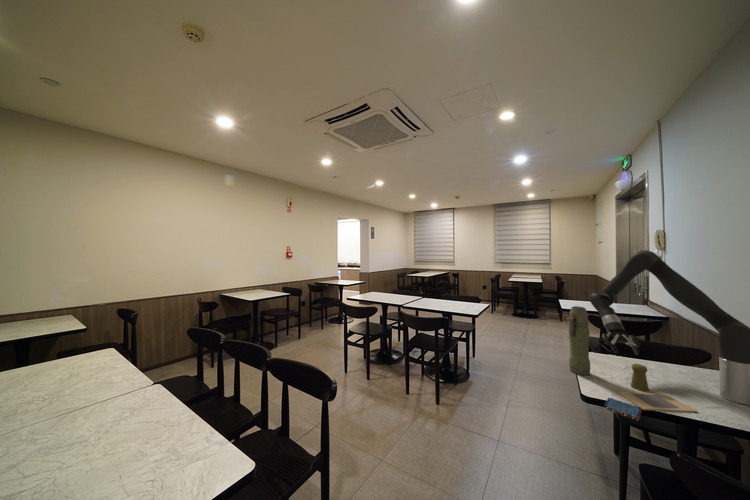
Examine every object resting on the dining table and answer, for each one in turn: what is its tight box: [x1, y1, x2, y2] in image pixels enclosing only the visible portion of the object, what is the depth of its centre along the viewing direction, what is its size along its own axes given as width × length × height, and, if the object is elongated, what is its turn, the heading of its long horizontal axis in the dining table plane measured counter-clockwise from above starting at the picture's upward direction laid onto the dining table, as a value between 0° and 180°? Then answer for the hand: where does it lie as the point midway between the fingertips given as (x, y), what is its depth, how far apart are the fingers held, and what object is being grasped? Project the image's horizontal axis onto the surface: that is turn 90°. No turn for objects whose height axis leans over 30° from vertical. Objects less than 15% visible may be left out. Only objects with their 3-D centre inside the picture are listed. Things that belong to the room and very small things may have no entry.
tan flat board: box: [616, 391, 699, 413], centre depth 112 cm, size 20×13×1 cm, turn 84°
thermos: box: [568, 305, 591, 377], centre depth 140 cm, size 9×12×35 cm
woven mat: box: [603, 397, 643, 421], centre depth 107 cm, size 10×11×2 cm
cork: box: [630, 363, 650, 392], centre depth 124 cm, size 6×6×11 cm
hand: (626, 353), depth 132 cm, fingers open, 8 cm apart
